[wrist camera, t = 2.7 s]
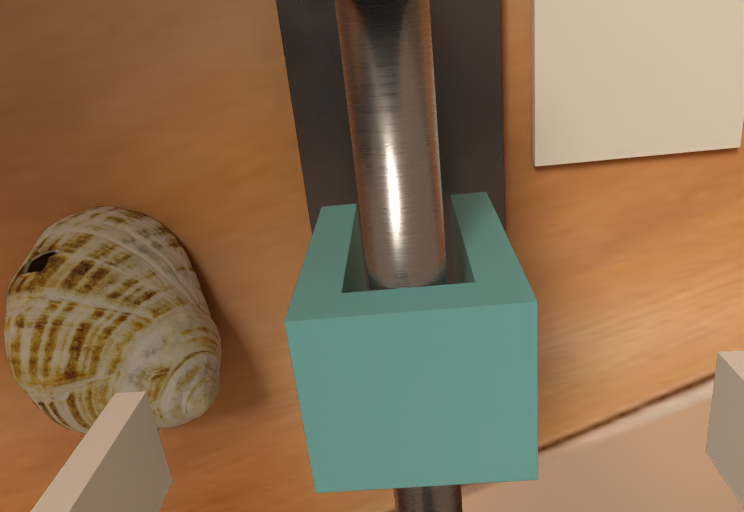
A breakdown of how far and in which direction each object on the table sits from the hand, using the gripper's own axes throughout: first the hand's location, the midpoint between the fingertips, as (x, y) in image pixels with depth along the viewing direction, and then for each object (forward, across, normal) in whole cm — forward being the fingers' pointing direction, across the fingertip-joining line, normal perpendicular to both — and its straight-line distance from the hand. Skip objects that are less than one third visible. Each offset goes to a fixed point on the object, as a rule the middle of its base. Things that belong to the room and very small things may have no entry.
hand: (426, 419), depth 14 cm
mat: (+16, +10, +6) cm, 20 cm away
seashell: (+17, -14, -4) cm, 22 cm away
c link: (+8, 0, 0) cm, 8 cm away
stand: (+16, 0, 0) cm, 16 cm away
